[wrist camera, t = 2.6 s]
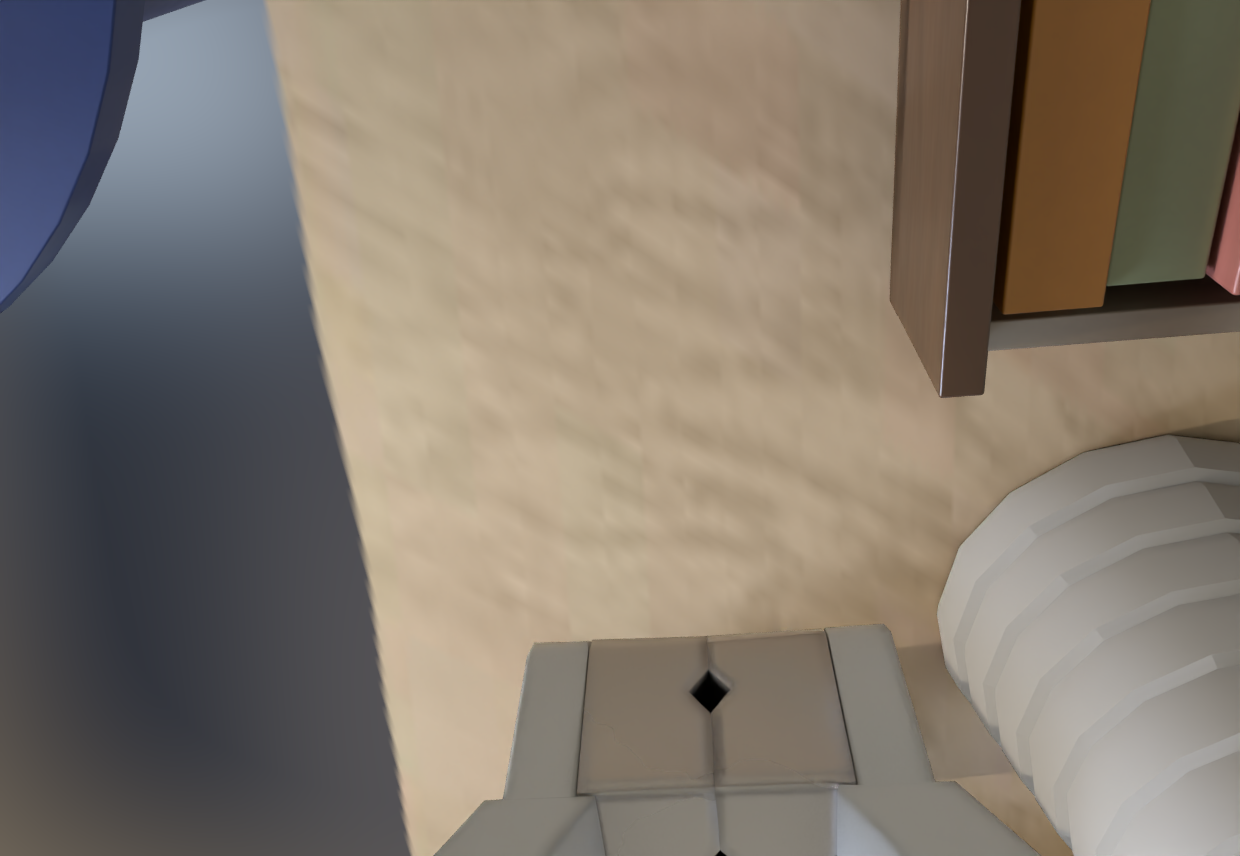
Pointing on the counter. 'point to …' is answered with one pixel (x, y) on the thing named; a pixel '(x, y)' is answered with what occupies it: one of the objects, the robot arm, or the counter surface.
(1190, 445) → the soap bottle
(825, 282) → the counter surface
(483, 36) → the counter surface
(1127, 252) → the tray
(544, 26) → the counter surface
